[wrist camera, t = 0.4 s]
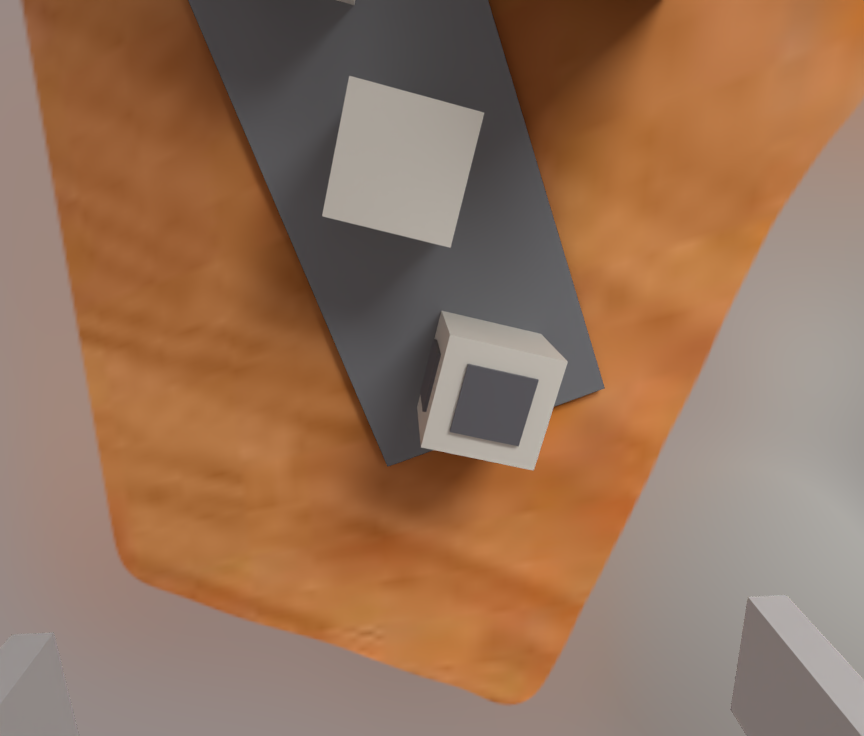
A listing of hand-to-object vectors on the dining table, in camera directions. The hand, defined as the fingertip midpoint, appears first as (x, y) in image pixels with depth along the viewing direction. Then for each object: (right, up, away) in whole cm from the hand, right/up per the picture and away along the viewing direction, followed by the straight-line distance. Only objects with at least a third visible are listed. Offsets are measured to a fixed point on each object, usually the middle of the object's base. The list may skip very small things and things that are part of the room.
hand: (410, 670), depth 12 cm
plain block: (-1, +17, +22) cm, 27 cm away
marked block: (+3, +6, +25) cm, 26 cm away
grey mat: (-1, +17, +22) cm, 28 cm away
